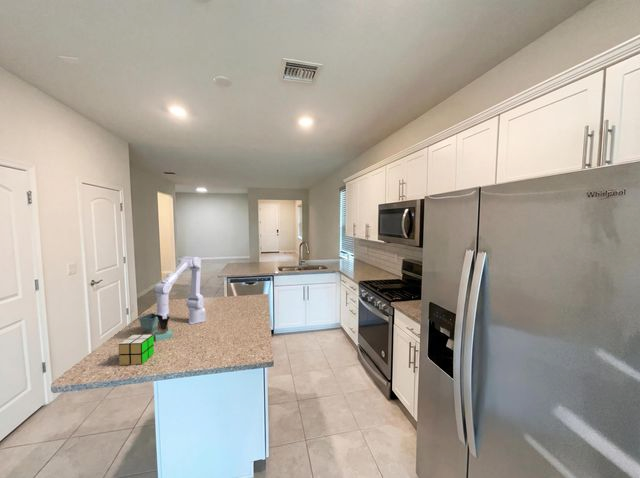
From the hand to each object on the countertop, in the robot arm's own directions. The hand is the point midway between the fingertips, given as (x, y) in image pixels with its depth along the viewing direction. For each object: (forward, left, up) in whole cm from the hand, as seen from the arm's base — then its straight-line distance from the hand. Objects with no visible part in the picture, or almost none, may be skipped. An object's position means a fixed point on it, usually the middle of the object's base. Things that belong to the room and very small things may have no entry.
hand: (163, 327), depth 145 cm
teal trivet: (0, 0, -6) cm, 6 cm away
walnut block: (0, 0, -2) cm, 2 cm away
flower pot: (+5, -15, -6) cm, 17 cm away
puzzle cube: (+13, +21, -6) cm, 25 cm away
